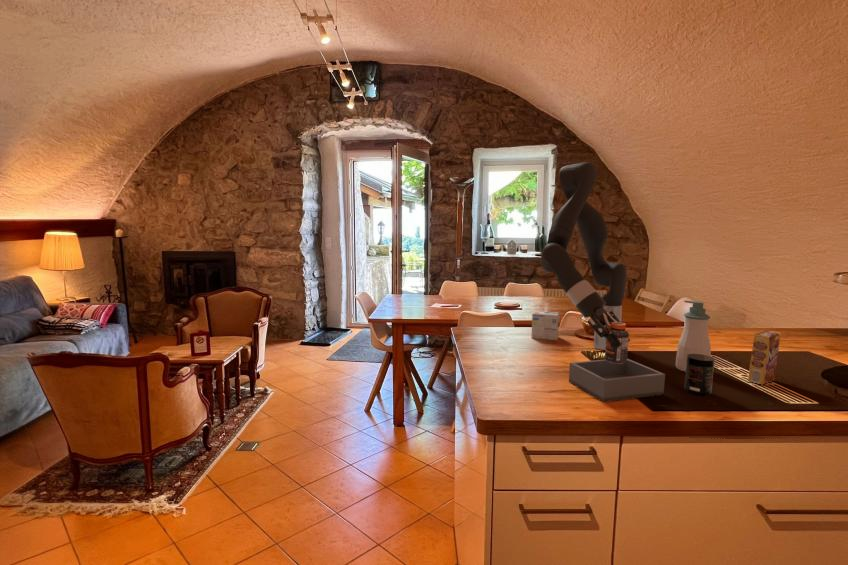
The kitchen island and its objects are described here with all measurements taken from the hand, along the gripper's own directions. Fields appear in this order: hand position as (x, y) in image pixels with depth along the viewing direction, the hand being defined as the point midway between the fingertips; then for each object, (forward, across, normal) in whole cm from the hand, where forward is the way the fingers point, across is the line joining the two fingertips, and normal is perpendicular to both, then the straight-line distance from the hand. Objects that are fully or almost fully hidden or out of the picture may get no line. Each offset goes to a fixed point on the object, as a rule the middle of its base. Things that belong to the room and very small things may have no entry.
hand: (622, 344), depth 128 cm
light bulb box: (-22, +38, +42) cm, 61 cm away
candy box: (+30, +38, -11) cm, 50 cm away
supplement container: (+21, +14, -2) cm, 26 cm away
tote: (+8, 0, +11) cm, 14 cm away
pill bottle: (+3, 0, +5) cm, 6 cm away
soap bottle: (+17, +35, +2) cm, 39 cm away
